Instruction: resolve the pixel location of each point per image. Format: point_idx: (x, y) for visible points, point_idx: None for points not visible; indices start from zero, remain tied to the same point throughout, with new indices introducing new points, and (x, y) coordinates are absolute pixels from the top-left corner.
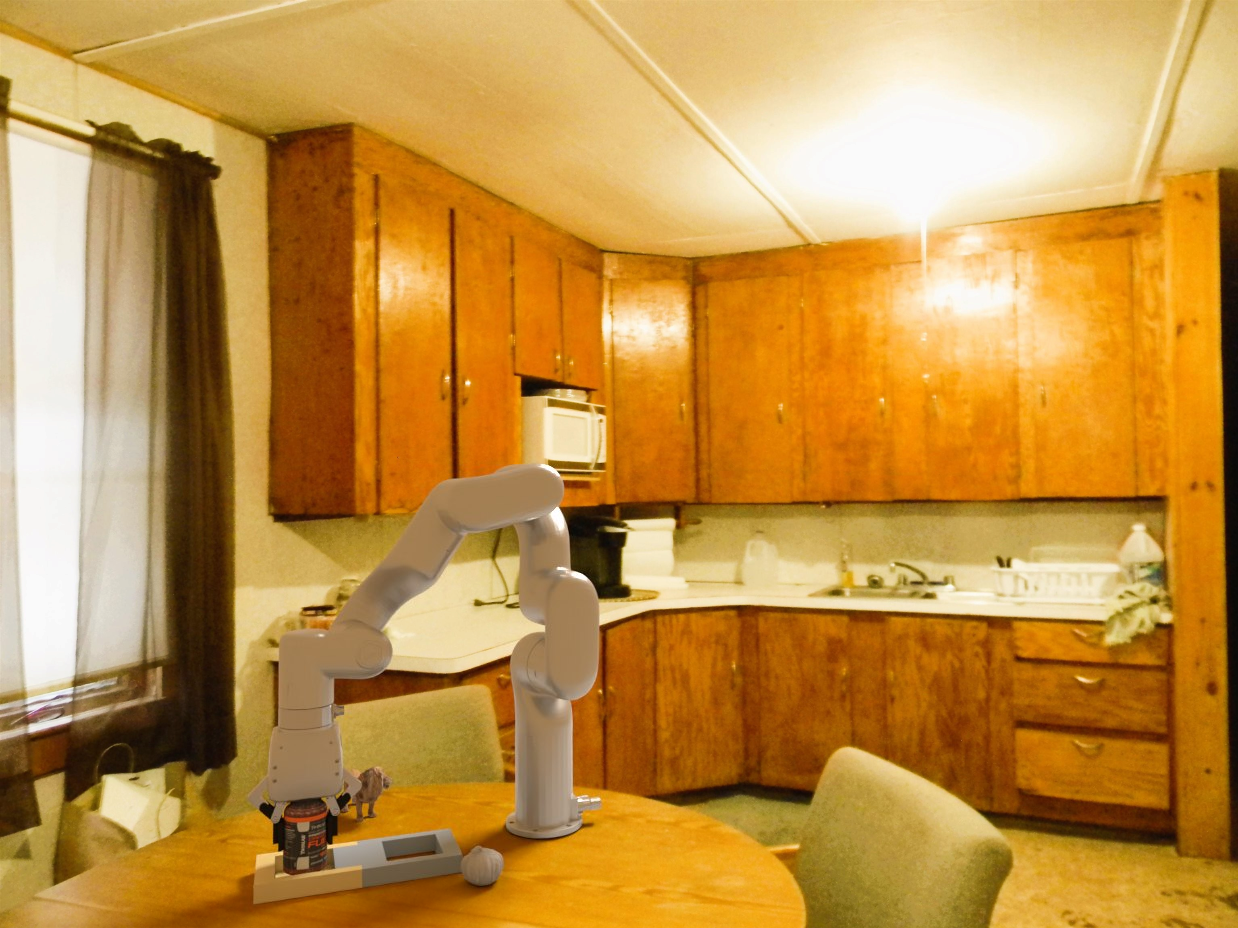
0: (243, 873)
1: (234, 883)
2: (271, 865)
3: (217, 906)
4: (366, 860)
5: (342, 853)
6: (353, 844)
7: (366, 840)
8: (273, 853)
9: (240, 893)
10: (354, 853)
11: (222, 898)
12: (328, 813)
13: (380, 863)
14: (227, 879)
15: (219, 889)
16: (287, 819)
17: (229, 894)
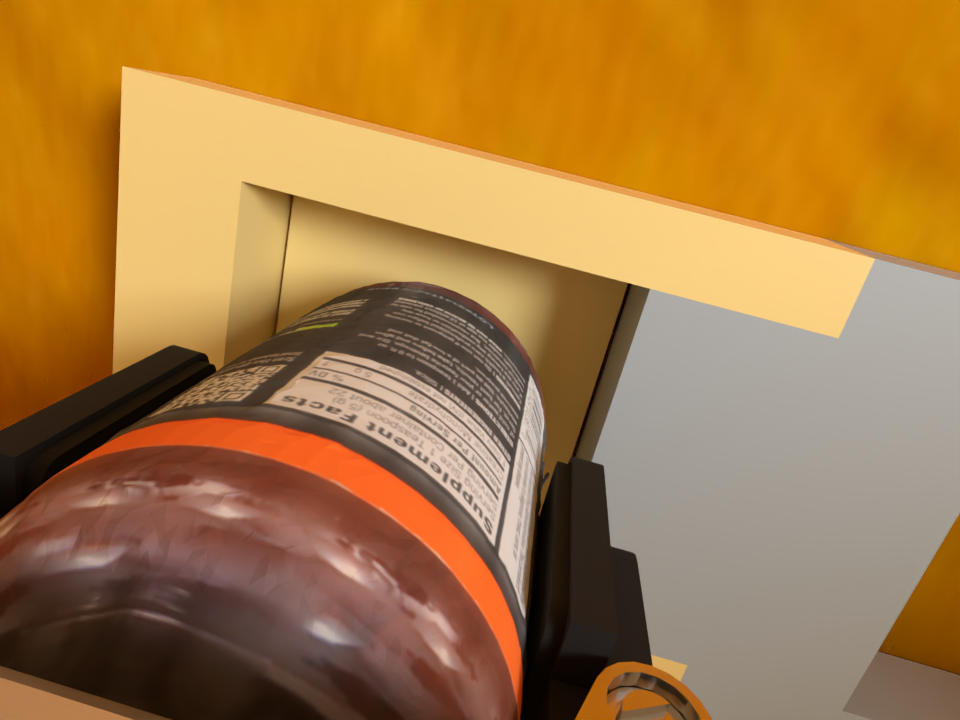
0: (124, 43)
1: (80, 177)
2: (207, 339)
3: (22, 413)
4: (746, 624)
5: (667, 429)
6: (813, 316)
7: (947, 292)
8: (236, 117)
9: (113, 334)
10: (735, 482)
11: (35, 339)
12: (540, 692)
13: (793, 709)
14: (40, 86)
15: (11, 213)
16: None
17: (64, 312)
